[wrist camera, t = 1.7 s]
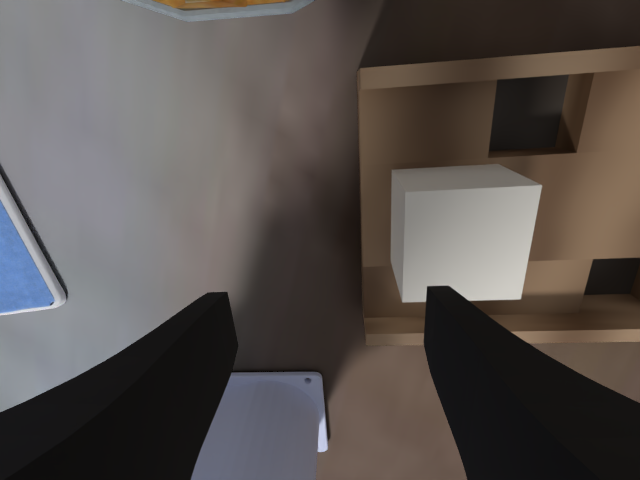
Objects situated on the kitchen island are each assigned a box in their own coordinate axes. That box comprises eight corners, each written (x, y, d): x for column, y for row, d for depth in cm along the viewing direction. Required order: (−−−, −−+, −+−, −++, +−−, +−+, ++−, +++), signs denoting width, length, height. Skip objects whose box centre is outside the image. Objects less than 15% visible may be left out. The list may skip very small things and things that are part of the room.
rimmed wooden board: (362, 309, 23) (366, 345, 19) (356, 71, 17) (360, 68, 14) (730, 300, 21) (800, 339, 18) (855, 32, 15) (990, 17, 12)
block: (390, 261, 19) (402, 302, 15) (391, 169, 17) (405, 192, 13) (485, 257, 19) (520, 299, 15) (497, 163, 17) (541, 185, 13)
